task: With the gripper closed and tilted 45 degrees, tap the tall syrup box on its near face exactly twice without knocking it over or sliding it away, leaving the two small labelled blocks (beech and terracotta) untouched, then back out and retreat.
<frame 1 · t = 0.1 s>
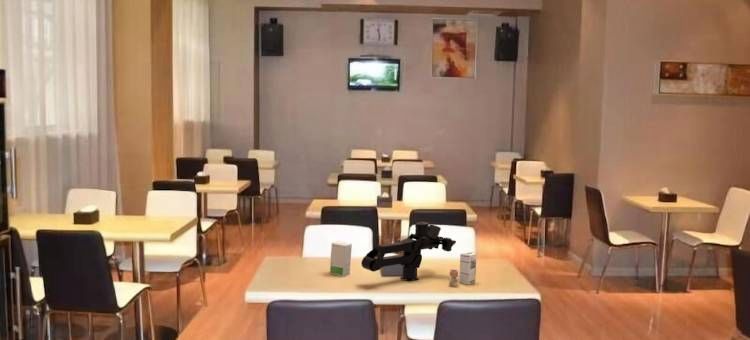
hand: (449, 239, 349), 17 cm above the table, tool horizontal, fingers open, 9 cm apart
beech block: (453, 286, 327), on the table
skincare box: (340, 274, 340), on the table
terracotta block: (453, 278, 340), on the table
syrup box: (466, 283, 333), on the table
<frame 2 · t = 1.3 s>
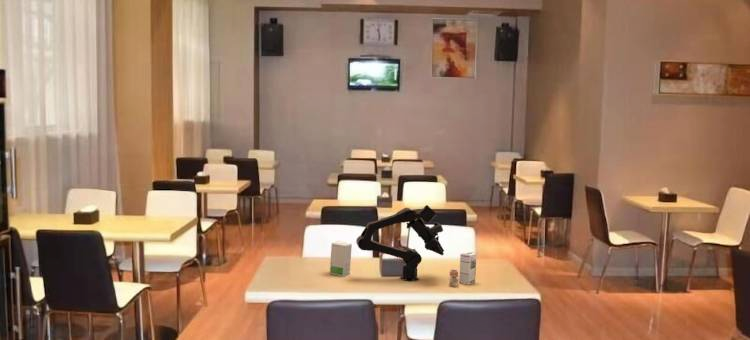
hand: (443, 253, 333), 14 cm above the table, tool tilted 45°, fingers open, 6 cm apart
nothing on the table moved.
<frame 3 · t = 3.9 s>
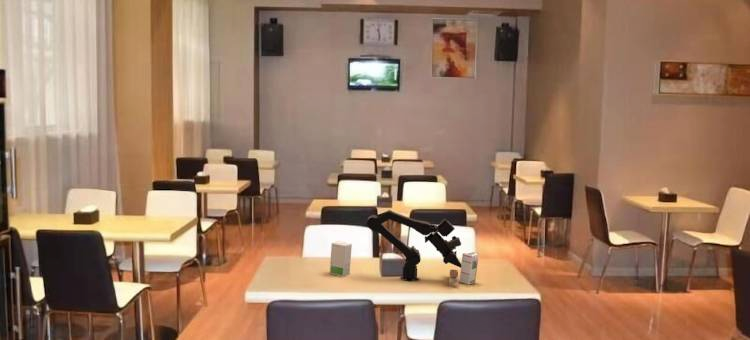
hand: (461, 266, 333), 7 cm above the table, tool tilted 45°, fingers closed
syrup box: (466, 282, 333), on the table, touching gripper
everything else where it was.
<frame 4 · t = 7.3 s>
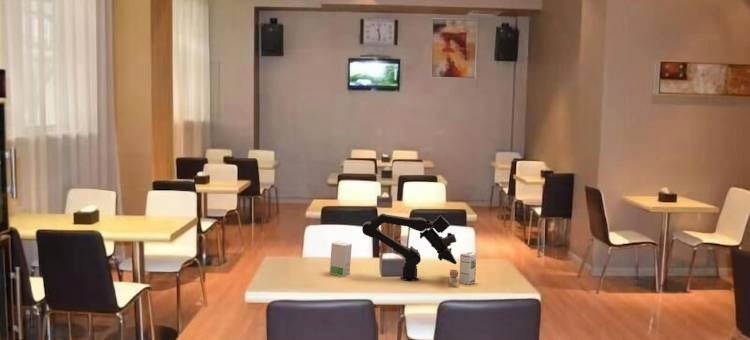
hand: (456, 263, 333), 9 cm above the table, tool tilted 45°, fingers closed
syrup box: (466, 283, 333), on the table
everything else where it was.
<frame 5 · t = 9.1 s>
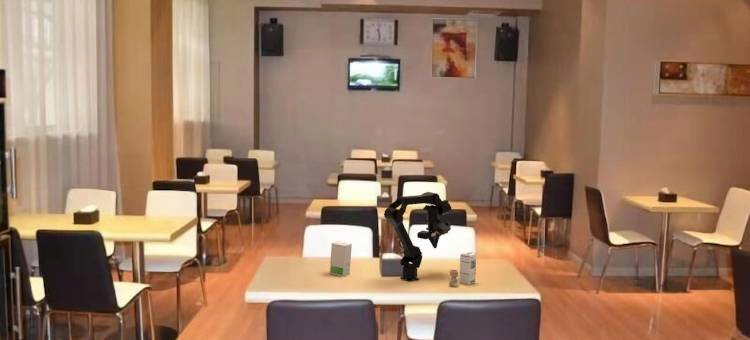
hand: (435, 248, 344), 14 cm above the table, tool pointing down, fingers closed
nothing on the table moved.
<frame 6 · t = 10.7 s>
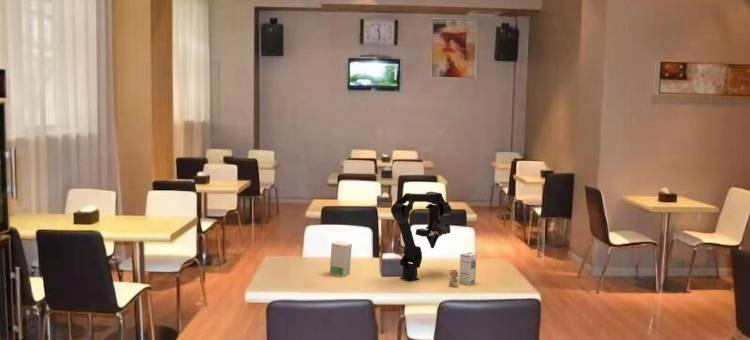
hand: (432, 248, 346), 13 cm above the table, tool pointing down, fingers closed
nothing on the table moved.
at the end: syrup box moved 0.2 cm from its start; syrup box tilted 0°; beech block moved 0.1 cm from its start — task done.
